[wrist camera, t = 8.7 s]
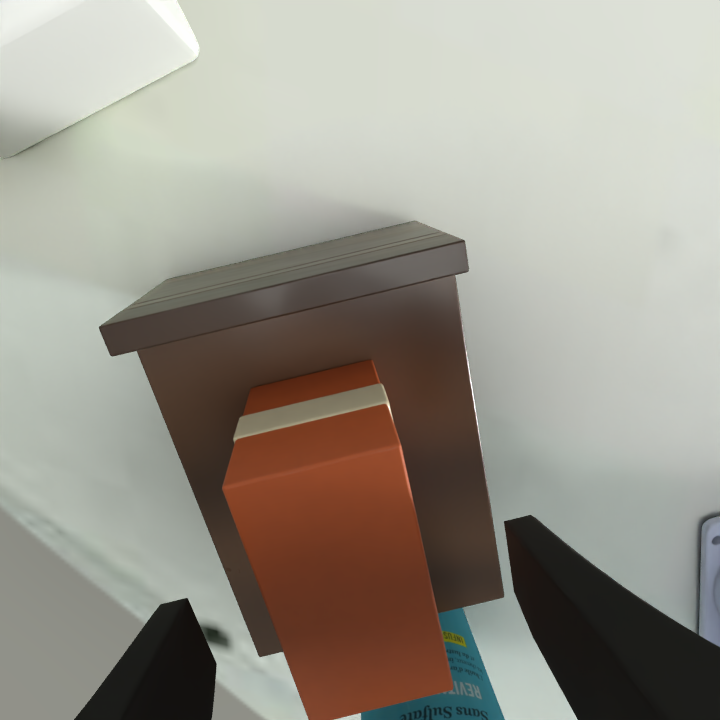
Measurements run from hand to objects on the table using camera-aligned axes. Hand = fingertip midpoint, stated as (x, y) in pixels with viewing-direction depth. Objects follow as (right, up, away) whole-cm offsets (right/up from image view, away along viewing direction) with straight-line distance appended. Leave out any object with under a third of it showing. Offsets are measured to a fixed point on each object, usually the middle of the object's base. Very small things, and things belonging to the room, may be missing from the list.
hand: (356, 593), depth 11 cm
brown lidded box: (-1, +3, +9) cm, 9 cm away
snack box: (-1, +2, +4) cm, 5 cm away
